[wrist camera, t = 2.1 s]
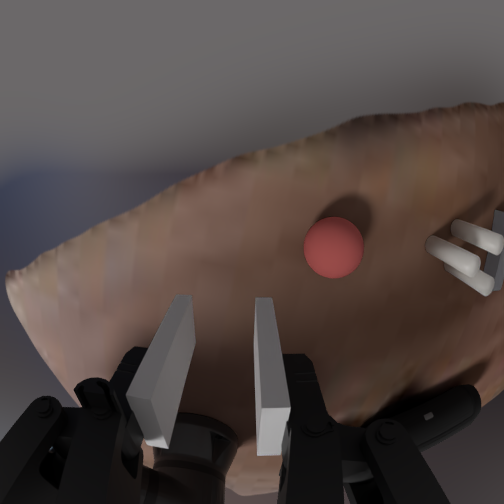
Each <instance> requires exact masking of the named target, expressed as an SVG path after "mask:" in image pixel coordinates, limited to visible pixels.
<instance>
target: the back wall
mask: <svg viewBox="0 0 504 504" xmlns="http://www.w3.org/2000/svg"><path fill="white" fill-rule="evenodd" d="M492 231H493V232H495V233H498V234H501V235H502V236H503V238H504V212H502V211H498V210H495V212H494V219H493V226H492ZM483 272H484V273H486V274H488V275H490V276H491V277H493V278H494V281H495V283H494V287H493V290H492V291H497V290H501V286H502V283H503V279H504V246H503V250H502V252H501V253H500V254H499V255H494V254H492V253H490V252H488V254H487V258H486V263H485V267H484V271H483Z"/></svg>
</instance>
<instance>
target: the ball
mask: <svg viewBox="0 0 504 504" xmlns="http://www.w3.org/2000/svg"><path fill="white" fill-rule="evenodd" d="M363 253H364V243H363V238H362V235H361V233H360V232H359V230H358V229H357V227H356V226H355V225H354V224H352V223H351V222H350V221H348V220H346V219H344V218H340V217H327V218H324V219H321V220H319V221H318V222H316V223H315V224H314V225H313V226H312V227H311V228H310V229H309V231H308V233H307V235H306V237H305V240H304V254H305V258H306V260H307V262H308V264H309V266H310V267H311V268H312V269H313V270H314V271H315V272H316V273H318V274H319V275H321V276H324V277H327V278H341V277H344V276H346V275H348V274H350V273H352V272H353V271H354V270H355V269H356V268H357V267H358V265H359V264H360V262H361V260H362V257H363Z"/></svg>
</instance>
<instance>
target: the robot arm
mask: <svg viewBox="0 0 504 504" xmlns="http://www.w3.org/2000/svg"><path fill="white" fill-rule="evenodd" d="M195 344H196V338H195V328H194V316H193V303H192V295H177V294H176V296H175V298H174V300H173V302H172V304H171V305H170V307H169V309H168V311H167V313H166V315H165V317H164V319H163V321H162V323H161V324H160V326H159V328H158V330H157V332H156V334H155V336H154V338H153V340H152V342H151V344H150V346H149V348H143V347H133V348H132V349H131V350H130V351H128V352H127V353H126V354H125V356H124V357H123V359H122V361H121V364H119V366H118V368H117V371H115V373H114V375H113V376H112V378H111V380H110V382H108V381H107V380H106V379H102V378H89V379H85V380H83V381H81V382H80V383H78V384H77V386H76V387H75V388H74V392H75V394H76V396H77V397H78V399H79V401H80V403H81V405H82V407H80V408H75V407H62V405H61V404H60V402H59V401H58V400H57V399H56V398H54V397H51V396H42V397H39V398H37V399H35V400H34V401H33V402H32V403H31V404H30V405H29V407H28V408H27V409H26V410H25V411H24V413H23V414H22V415H21V416H20V417H19V419H18V420H17V421H16V423H15V424H14V425H13V426H12V427H11V429H10V430H9V431H8V433H7V434H6V435H5V437H4V438H3V439H2V440H1V442H0V504H224V500H225V478H226V474H227V472H228V470H229V468H230V466H231V464H232V462H233V459H234V457H235V455H236V453H237V445H238V439H237V436H236V434H235V433H234V431H233V430H232V429H230V428H229V427H228V426H226V425H225V424H223V423H221V422H219V421H217V420H214V419H212V418H208V417H205V416H201V415H196V414H188V413H177V412H178V408H179V404H180V400H181V396H182V392H183V388H184V385H185V381H186V377H187V373H188V370H189V366H190V362H191V358H192V355H193V351H194V348H195ZM254 371H255V402H256V434H257V456H263V455H280V454H281V450H282V458H283V462H282V466H281V469H280V473H279V476H280V483H279V492H278V500H277V504H344V489H343V485H344V488H345V491H346V493H347V496H348V499H349V501H350V504H450V502H449V500H448V499H447V497H446V495H445V493H444V492H443V490H442V488H441V486H440V485H439V483H438V482H437V480H436V478H435V476H434V475H433V473H432V471H431V469H430V468H429V466H428V465H427V463H426V461H425V460H424V458H423V456H422V455H421V453H420V451H419V450H418V448H417V446H416V445H415V443H414V442H413V440H412V438H411V437H410V435H409V434H408V432H407V430H406V429H405V428H404V427H403V425H402V424H401V423H399V422H397V421H395V420H392V419H386V418H385V419H378V420H376V421H374V422H372V423H371V424H370V425H369V426H368V427H367V428H360V427H350V426H345V425H342V424H339V423H337V422H336V421H335V420H334V419H333V418H332V417H331V416H329V414H328V412H327V410H326V407H325V403H324V400H323V397H322V393H321V390H320V386H319V383H318V382H317V376H316V373H315V370H314V367H313V363H312V361H311V360H310V359H309V358H308V357H307V356H306V355H305V354H282V352H281V346H280V340H279V334H278V329H277V323H276V317H275V312H274V306H273V300H272V298H268V297H256V299H255V325H254ZM143 438H144V439H145V441H146V443H147V445H150V446H153V454H154V466H153V469H151V468H149V467H147V466H144V465H143V450H142V448H141V444H142V441H143ZM50 448H51V449H50Z"/></svg>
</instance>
